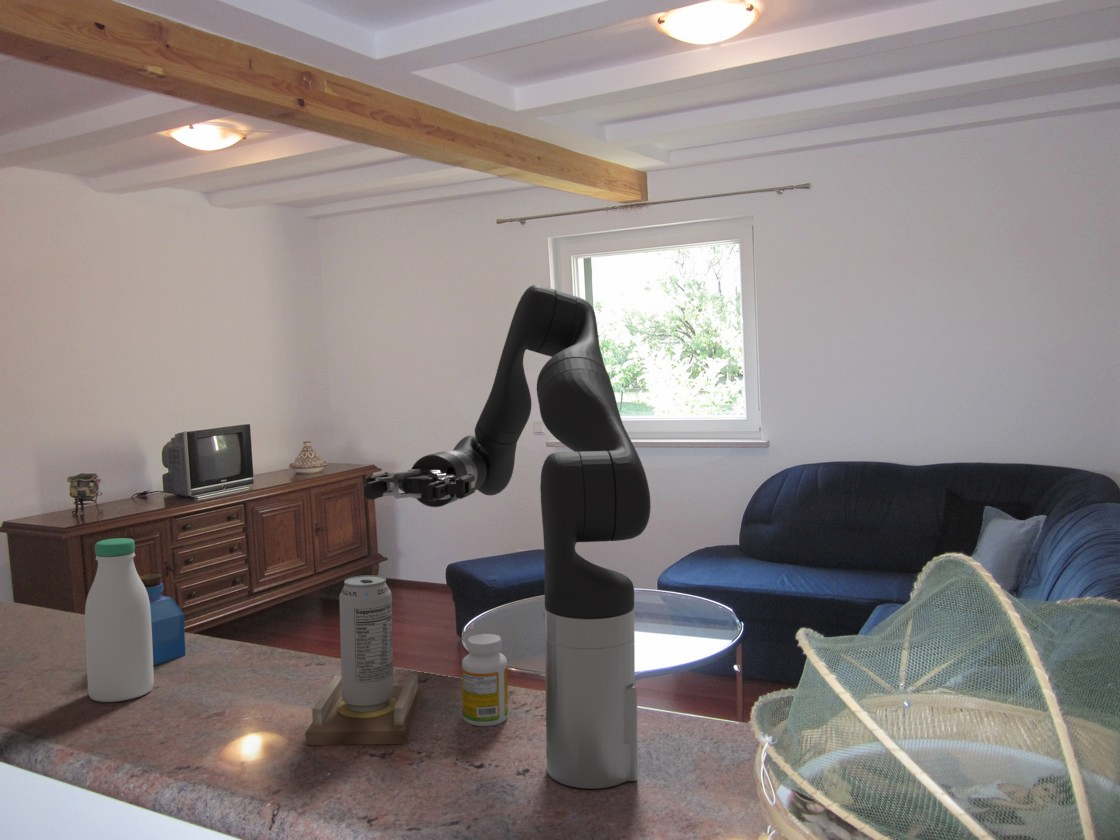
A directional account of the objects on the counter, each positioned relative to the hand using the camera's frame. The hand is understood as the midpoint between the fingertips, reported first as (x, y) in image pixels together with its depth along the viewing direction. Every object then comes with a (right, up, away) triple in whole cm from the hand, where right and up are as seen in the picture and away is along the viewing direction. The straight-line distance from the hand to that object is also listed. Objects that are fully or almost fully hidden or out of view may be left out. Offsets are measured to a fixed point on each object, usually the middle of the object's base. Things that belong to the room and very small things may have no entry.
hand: (399, 492), depth 118 cm
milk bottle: (-36, -26, +1) cm, 45 cm away
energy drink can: (-2, -25, -9) cm, 26 cm away
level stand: (-2, -26, -9) cm, 28 cm away
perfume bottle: (-38, -25, +15) cm, 48 cm away
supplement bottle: (+12, -26, -8) cm, 30 cm away
